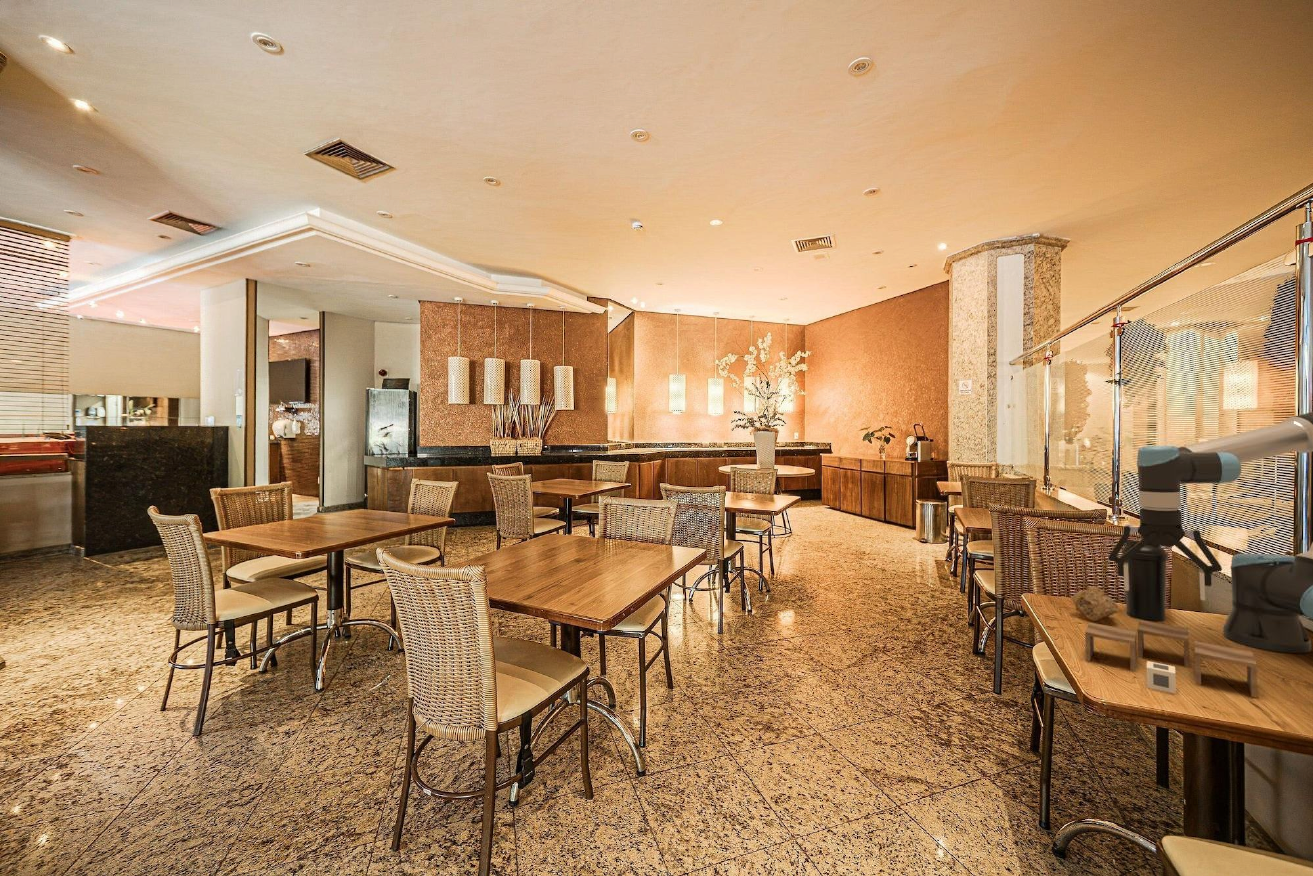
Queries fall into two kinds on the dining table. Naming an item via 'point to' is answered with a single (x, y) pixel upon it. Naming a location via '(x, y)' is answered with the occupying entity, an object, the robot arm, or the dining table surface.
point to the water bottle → (1146, 582)
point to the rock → (1094, 603)
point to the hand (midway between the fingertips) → (1163, 594)
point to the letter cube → (1161, 677)
